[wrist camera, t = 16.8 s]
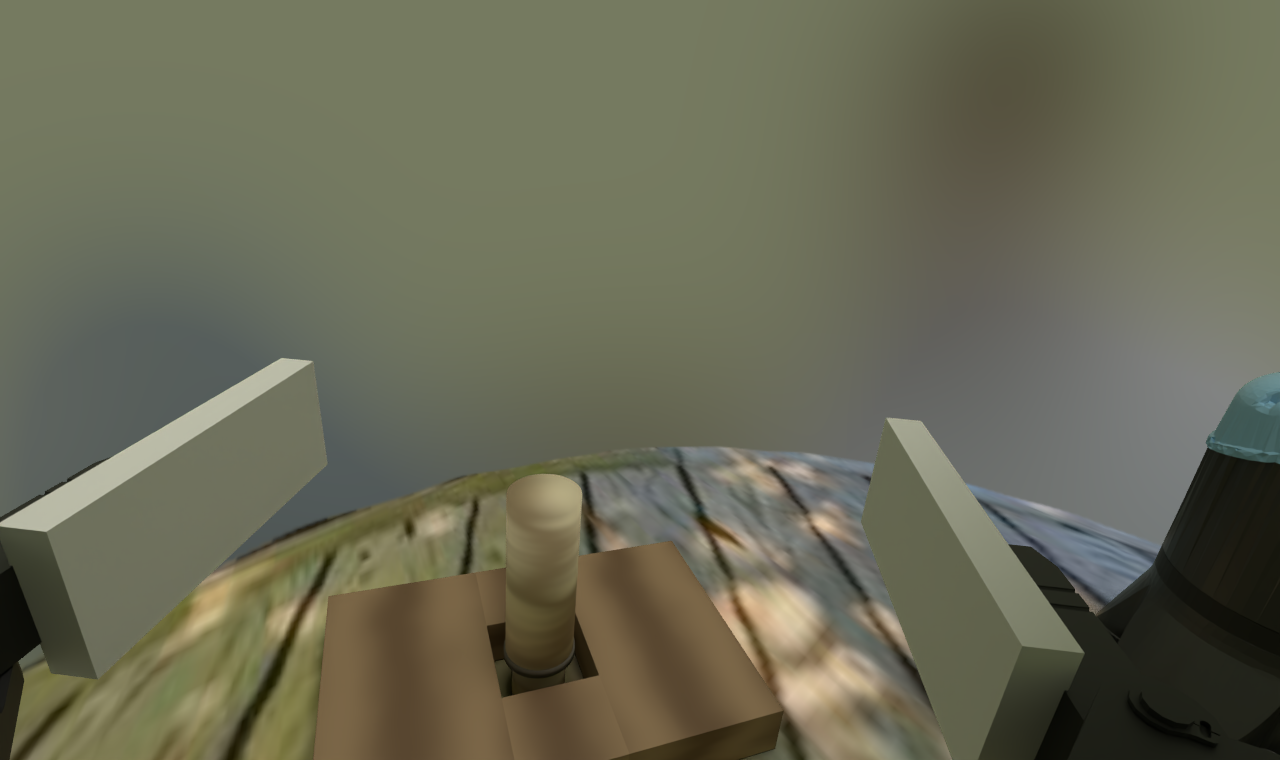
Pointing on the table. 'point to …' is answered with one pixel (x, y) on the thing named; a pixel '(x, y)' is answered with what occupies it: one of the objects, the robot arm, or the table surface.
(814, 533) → the table surface
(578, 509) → the peg
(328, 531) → the table surface
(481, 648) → the board
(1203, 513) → the robot arm
